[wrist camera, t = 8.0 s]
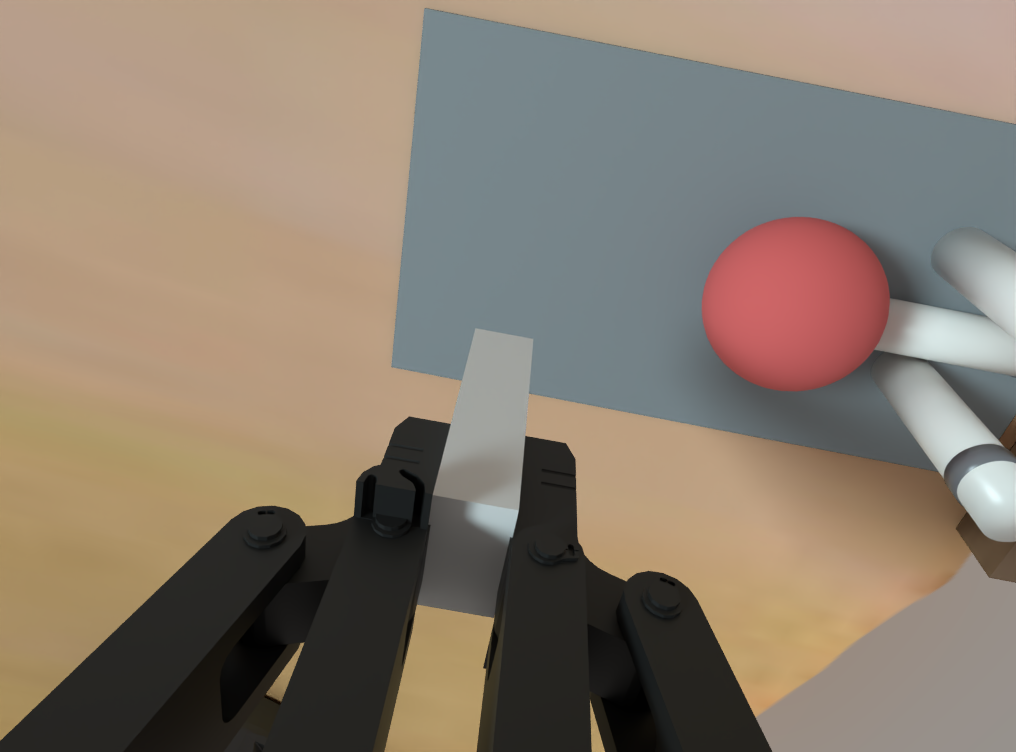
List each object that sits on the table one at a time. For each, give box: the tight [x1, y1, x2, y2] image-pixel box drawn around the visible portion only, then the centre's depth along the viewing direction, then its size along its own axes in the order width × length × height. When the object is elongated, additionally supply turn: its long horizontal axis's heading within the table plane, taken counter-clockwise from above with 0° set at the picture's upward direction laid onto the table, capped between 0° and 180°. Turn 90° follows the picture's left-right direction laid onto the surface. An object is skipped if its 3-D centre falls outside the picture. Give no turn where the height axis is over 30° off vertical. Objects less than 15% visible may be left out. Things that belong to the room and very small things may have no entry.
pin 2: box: [871, 352, 1016, 542], centre depth 24 cm, size 2×2×9 cm
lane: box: [391, 8, 1016, 472], centre depth 26 cm, size 14×26×1 cm, turn 80°
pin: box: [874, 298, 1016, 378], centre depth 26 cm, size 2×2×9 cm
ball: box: [702, 217, 890, 391], centre depth 24 cm, size 6×6×6 cm
